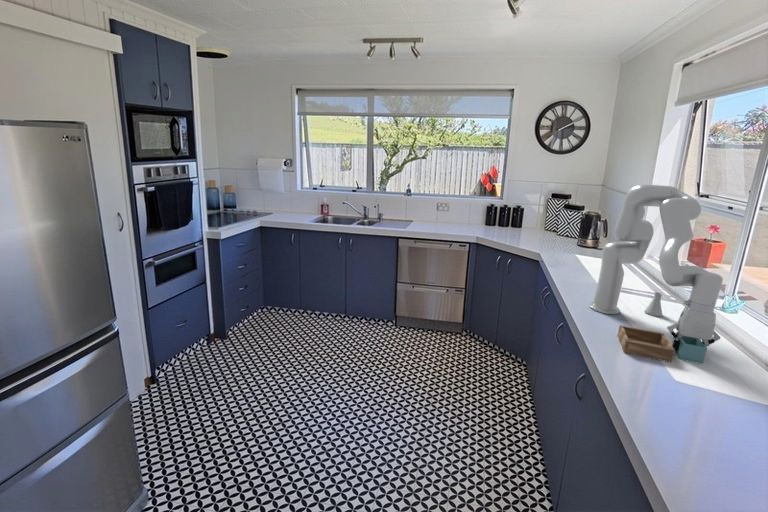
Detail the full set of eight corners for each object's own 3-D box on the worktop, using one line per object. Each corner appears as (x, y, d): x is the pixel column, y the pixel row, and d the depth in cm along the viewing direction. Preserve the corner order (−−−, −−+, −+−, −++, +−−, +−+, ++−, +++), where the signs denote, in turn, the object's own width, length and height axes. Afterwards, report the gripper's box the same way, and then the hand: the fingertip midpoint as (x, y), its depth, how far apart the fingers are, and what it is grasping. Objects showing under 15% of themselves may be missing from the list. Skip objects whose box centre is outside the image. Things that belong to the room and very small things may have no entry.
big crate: (617, 335, 164) (619, 325, 163) (660, 344, 160) (663, 333, 158) (623, 352, 151) (626, 341, 150) (671, 362, 146) (674, 350, 145)
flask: (645, 309, 195) (650, 289, 192) (663, 314, 191) (668, 293, 188) (642, 313, 190) (647, 293, 187) (661, 318, 185) (666, 297, 183)
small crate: (671, 347, 158) (675, 332, 156) (693, 351, 156) (697, 336, 154) (679, 358, 149) (683, 343, 147) (702, 363, 147) (707, 348, 145)
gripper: (675, 305, 147) (662, 350, 151) (734, 315, 141) (719, 362, 146) (669, 298, 153) (657, 342, 158) (726, 307, 148) (712, 352, 152)
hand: (687, 351), depth 152 cm, fingers closed on small crate, 7 cm apart
